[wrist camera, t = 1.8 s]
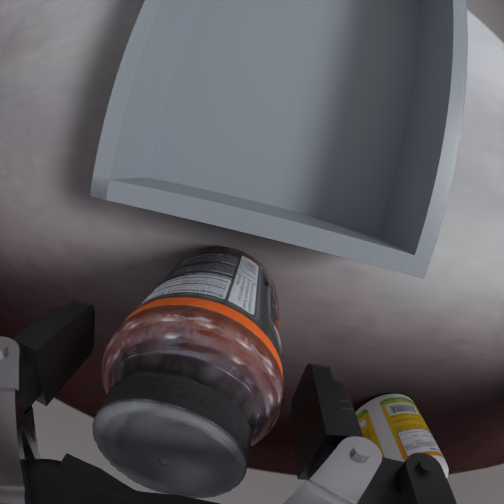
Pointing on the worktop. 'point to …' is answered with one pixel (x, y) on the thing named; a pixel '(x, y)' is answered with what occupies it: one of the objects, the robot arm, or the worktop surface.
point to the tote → (293, 121)
